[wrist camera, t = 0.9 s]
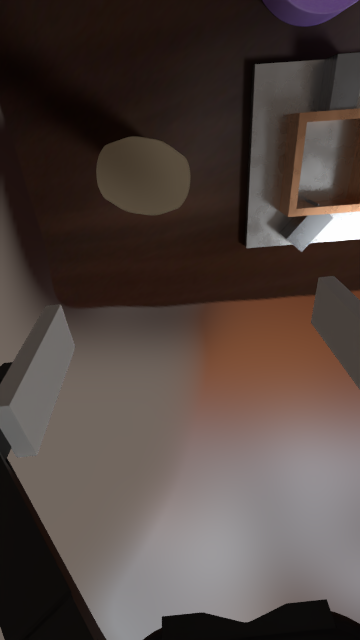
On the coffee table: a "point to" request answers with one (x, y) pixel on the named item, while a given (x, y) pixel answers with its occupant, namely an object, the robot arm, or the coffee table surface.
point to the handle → (143, 175)
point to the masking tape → (307, 10)
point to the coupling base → (304, 152)
